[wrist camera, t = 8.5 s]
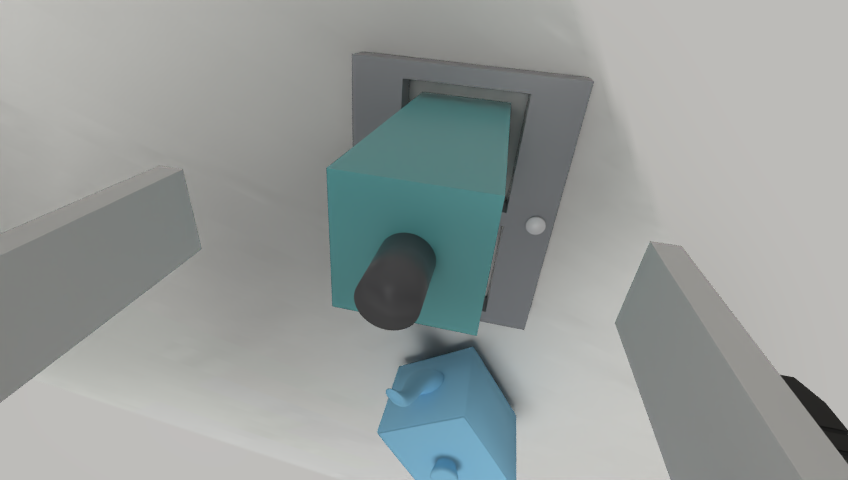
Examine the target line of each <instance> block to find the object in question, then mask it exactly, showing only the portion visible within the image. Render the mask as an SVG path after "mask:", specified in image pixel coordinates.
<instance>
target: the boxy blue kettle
mask: <svg viewBox="0 0 848 480" xmlns="http://www.w3.org/2000/svg"><path fill="white" fill-rule="evenodd" d="M386 394H387V396H388V401H387V404H386V407H385V410H384V413H383V416H382V419H381V422H380V425H379V428H378V431H377V432H378V435H379V436H380V437H381V438H382V440H383V441H384V442H385V443H386V445H387V446H388V447H389V448H390V450H391V451H392V452H393V453H394V455H395V456H396V457H397V458H398V460H399V461H400V462H401V463H402V464H403V466H404V467H405V468H406V469H407V471H408V472H409V473H410V474H411V475H412V477H413V478H414V479H415V480H516V415H515V413H514V411H513V410H512V408H511V406H510V405H509V403H508V402H507V400H506V398H505V397H504V395H503V393H502V392H501V390H500V389H499V387H498V385H497V384H496V382H495V381H494V379H493V377H492V376H491V374H490V373H489V371H488V369H487V368H486V366H485V364H484V363H483V361H482V360H481V358H480V356H479V355H478V353H477V352H476V350H475V348H474V347H470V348H466V349H462V350H459V351H455V352H451V353H448V354H444V355H440V356H436V357H433V358H429V359H425V360H422V361H418V362H414V363H410V364H406V365H403V366H399V368H398V371H397V374H396V377H395V380H394V383H393V386H392V389H387V390H386Z"/></svg>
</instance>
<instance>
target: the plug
mask: <svg viewBox="0 0 848 480" xmlns="http://www.w3.org/2000/svg"><path fill="white" fill-rule="evenodd" d="M510 112H511V103H508V102H500V101H492V100H484V99H476V98H468V97H460V96H452V95H444V94H436V93H428V92H422V93H421V94H419V95H418V96H417V97H416V98H414V99H413V100H412V101H411V102H409V103H408V104H407V105H406V106H404V107H403V108H402V109H400V110H399V111H398V112H397V113H395V114H394V115H393V116H392V117H390V118H389V119H388V120H387V121H385V122H384V123H383V124H382V125H380V126H379V127H378V128H376V129H375V130H374V131H373V132H371V133H370V134H369V135H368V136H366V137H365V138H364V139H363V140H361V141H360V142H359V143H358V144H356V145H355V146H354V147H352V148H351V149H350V150H349V151H347V152H346V153H345V154H344V155H342V156H341V157H340V158H339V159H337V160H336V161H335V162H334V163H332V164H331V165H330V166H329V167H327V168H326V169H327V192H328V215H329V238H330V261H331V284H332V306H334V307H338V308H343V309H348V310H353V311H358V312H359V313H360V314H361V315H362V316H363V317H364V318H365V319H366V320H367V321H368V322H370V323H371V324H373V325H375V326H377V327H379V328H382V329H386V330H402V329H405V328H408V327H410V326H411V325H413V324H414V323H417V324H422V325H426V326H431V327H436V328H441V329H446V330H451V331H456V332H461V333H466V334H470V335H475V336H477V332H478V327H479V322H480V317H481V312H482V307H483V302H484V298H485V293H486V288H487V283H488V278H489V273H490V268H491V263H492V258H493V253H494V248H495V243H496V238H497V233H498V228H499V224H500V219H501V214H502V209H503V204H504V199H505V190H506V174H507V159H508V143H509V128H510Z"/></svg>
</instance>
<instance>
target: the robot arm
mask: <svg viewBox="0 0 848 480" xmlns="http://www.w3.org/2000/svg"><path fill="white" fill-rule="evenodd" d="M200 250H201V245H200V240H199V236H198V232H197V228H196V223H195V219H194V215H193V211H192V206H191V202H190V198H189V194H188V189H187V185H186V181H185V177H184V173H183V169H177V168H171V167H164V166H157V167H155V168H153V169H150V170H148V171H146V172H143V173H141V174H139V175H136V176H134V177H132V178H129V179H127V180H125V181H122V182H120V183H118V184H115V185H113V186H111V187H108V188H106V189H104V190H101V191H99V192H97V193H94V194H92V195H90V196H87V197H85V198H83V199H80V200H78V201H76V202H74V203H71V204H69V205H67V206H64V207H62V208H60V209H57V210H55V211H53V212H50V213H48V214H46V215H43V216H41V217H39V218H36V219H34V220H32V221H29V222H27V223H25V224H22V225H20V226H18V227H15V228H13V229H11V230H8V231H6V232H4V233H1V234H0V402H2V401H3V400H4V399H6V398H7V397H8V396H10V395H11V394H12V393H14V392H15V391H16V390H17V389H19V388H20V387H21V386H23V385H24V384H25V383H27V382H28V381H29V380H31V379H32V378H33V377H35V376H36V375H37V374H38V373H40V372H41V371H42V370H44V369H45V368H46V367H48V366H49V365H50V364H52V363H53V362H54V361H55V360H57V359H58V358H59V357H61V356H62V355H63V354H65V353H66V352H67V351H69V350H70V349H71V348H73V347H74V346H75V345H76V344H78V343H79V342H80V341H82V340H83V339H84V338H86V337H87V336H88V335H90V334H91V333H92V332H93V331H95V330H96V329H97V328H99V327H100V326H101V325H103V324H104V323H105V322H107V321H108V320H109V319H111V318H112V317H113V316H114V315H116V314H117V313H118V312H120V311H121V310H122V309H124V308H125V307H126V306H128V305H129V304H130V303H131V302H133V301H134V300H135V299H137V298H138V297H139V296H141V295H142V294H143V293H145V292H146V291H147V290H149V289H150V288H151V287H152V286H154V285H155V284H156V283H158V282H159V281H160V280H162V279H163V278H164V277H166V276H167V275H168V274H169V273H171V272H172V271H173V270H175V269H176V268H177V267H179V266H180V265H181V264H183V263H184V262H185V261H187V260H188V259H189V258H190V257H192V256H193V255H194V254H196V253H197V252H198V251H200ZM615 324H616V327H617V330H618V332H619V335H620V338H621V341H622V344H623V347H624V349H625V352H626V355H627V358H628V361H629V363H630V366H631V369H632V372H633V375H634V378H635V380H636V383H637V386H638V389H639V392H640V394H641V397H642V400H643V403H644V406H645V409H646V411H647V414H648V417H649V420H650V423H651V425H652V428H653V431H654V434H655V437H656V440H657V442H658V445H659V448H660V451H661V454H662V456H663V459H664V462H665V465H666V468H667V471H668V473H669V476H670V479H671V480H848V430H847V429H846V428H845V426H844V425H843V424H842V423H841V421H840V420H839V419H838V418H837V417H836V415H835V414H834V413H833V412H832V410H831V409H830V408H829V407H828V406H827V404H826V403H825V402H824V401H822V400H821V399H820V398H819V397H818V396H816V395H815V394H814V393H813V392H811V391H810V390H809V389H808V388H806V387H805V386H804V385H803V384H802V383H800V382H799V381H798V380H797V379H795V378H794V377H789V376H783V375H779V373H778V372H777V371H776V369H775V368H774V367H773V365H772V364H771V363H770V361H769V360H768V359H767V357H766V356H765V355H764V353H763V352H762V351H761V350H760V348H759V347H758V346H757V344H756V343H755V342H754V341H753V339H752V338H751V337H750V335H749V334H748V333H747V331H746V330H745V329H744V327H743V326H742V325H741V323H740V322H739V321H738V320H737V318H736V317H735V316H734V314H733V313H732V311H731V310H730V309H729V308H728V306H727V305H726V304H725V302H724V301H723V300H722V298H721V297H720V296H719V294H718V293H717V292H716V291H715V289H714V288H713V287H712V285H711V284H710V283H709V281H708V280H707V279H706V277H705V276H704V275H703V274H702V272H701V271H700V270H699V269H698V267H697V266H696V264H695V263H694V262H693V260H692V259H691V258H690V257H689V255H688V254H687V252H686V251H685V250H684V249H683V247H682V246H677V245H671V244H664V243H658V242H651V241H650V243H649V245H648V247H647V250H646V252H645V254H644V257H643V259H642V261H641V264H640V266H639V268H638V271H637V273H636V275H635V278H634V280H633V282H632V285H631V287H630V289H629V291H628V294H627V296H626V298H625V301H624V303H623V305H622V308H621V310H620V312H619V315H618V317H617V319H616V322H615Z"/></svg>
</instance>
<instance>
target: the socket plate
mask: <svg viewBox="0 0 848 480" xmlns="http://www.w3.org/2000/svg"><path fill="white" fill-rule="evenodd" d="M410 79H412V80H420V81H428V82H436V83H445V84H453V85H461V86H469V87H478V88H486V89H494V90H503V91H511V92H519V93H527V94H529V98H528V103H527V108H526V113H525V117H524V122H523V127H522V132H521V137H520V142H519V146H518V151H517V156H516V161H515V166H514V171H513V175H512V180H511V185H510V190H509V195H508V199H507V202H506V201H504V204H503V209H502V214H501V219H500V224H499V226H502V228H501V233H500V238H499V243H498V248H497V253H496V257H495V262H494V267H493V272H492V277H491V282H490V286H489V291H488V296H487V297H485V298H484V302H483V307H482V312H481V317H480V321H482V322H487V323H492V324H497V325H502V326H507V327H512V328H517V329H522V330H524V328H525V325H526V321H527V318H528V314H529V311H530V307H531V303H532V300H533V296H534V293H535V289H536V286H537V282H538V279H539V275H540V271H541V268H542V264H543V261H544V257H545V254H546V250H547V247H548V243H549V240H550V236H551V232H552V229H553V225H554V222H555V218H556V215H557V211H558V208H559V204H560V200H561V197H562V193H563V190H564V186H565V183H566V179H567V176H568V172H569V168H570V165H571V161H572V158H573V154H574V151H575V147H576V144H577V140H578V136H579V133H580V129H581V126H582V122H583V119H584V115H585V112H586V108H587V104H588V101H589V97H590V94H591V90H592V87H593V83H594V81H592V80H591V79H590V78H589V77H582V76H573V75H564V74H555V73H546V72H538V71H529V70H520V69H511V68H502V67H493V66H485V65H476V64H467V63H458V62H449V61H440V60H432V59H423V58H414V57H405V56H396V55H387V54H379V53H370V52H359V53H354V54H352V119H353V147H354V146H355V145H356V144H358V143H359V142H360V141H361V140H363V139H364V138H365V137H366V136H368V135H369V134H370V133H371V132H373V131H374V130H375V129H376V128H378V127H379V126H380V125H382V124H383V123H384V122H385V121H387V120H388V119H389V118H390V117H392V116H393V115H394V114H395V113H397V112H398V111H399V110H400V109H402V108H403V107H404V106H406V105H407V104H408V98H409V82H410Z"/></svg>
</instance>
